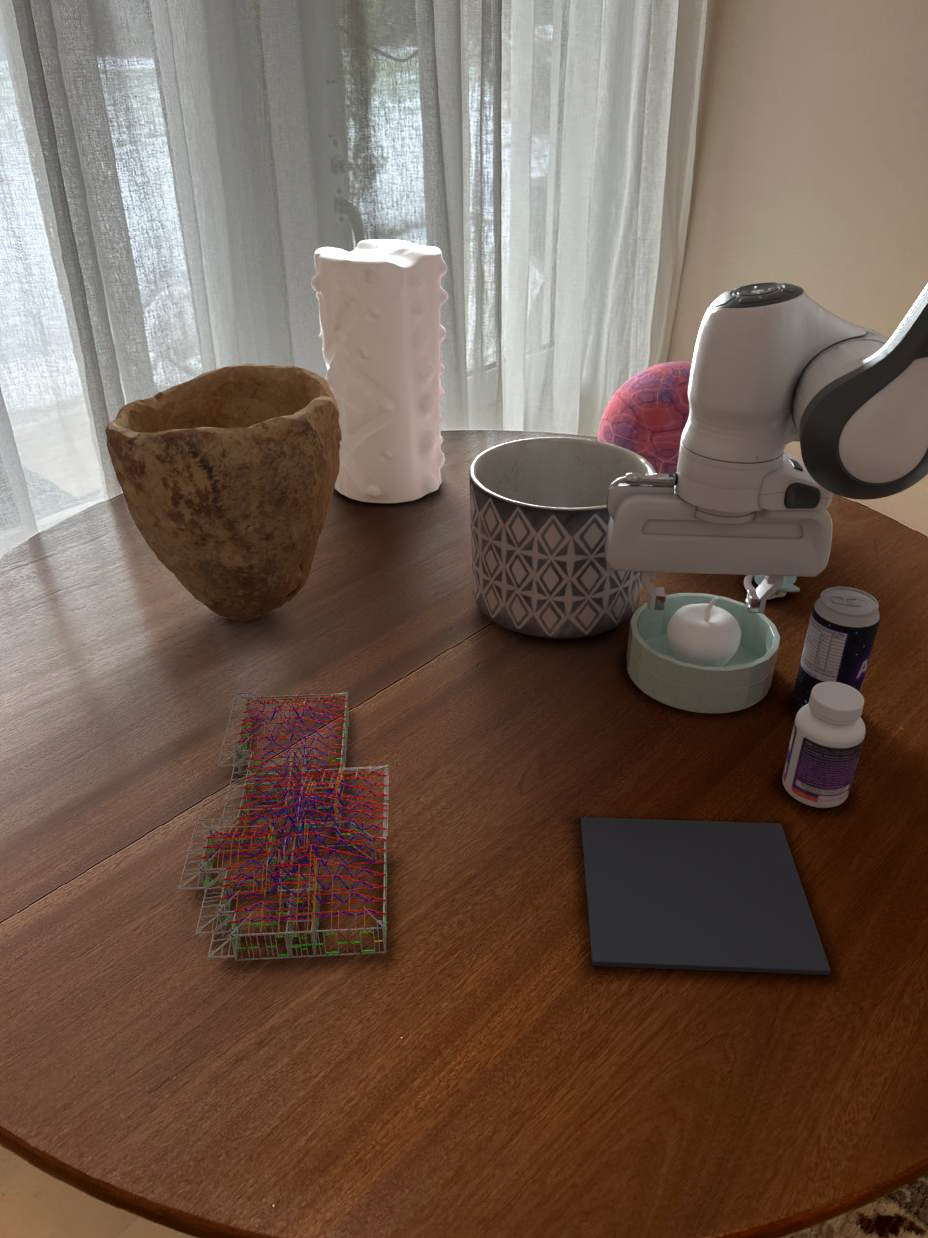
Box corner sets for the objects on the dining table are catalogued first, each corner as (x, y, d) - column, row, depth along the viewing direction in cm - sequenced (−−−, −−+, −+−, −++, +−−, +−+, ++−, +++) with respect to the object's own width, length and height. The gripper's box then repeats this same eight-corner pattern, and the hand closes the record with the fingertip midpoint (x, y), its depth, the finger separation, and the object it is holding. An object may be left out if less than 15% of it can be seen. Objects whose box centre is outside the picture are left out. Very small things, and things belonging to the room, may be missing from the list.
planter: (491, 664, 95) (493, 517, 86) (454, 574, 111) (452, 443, 102) (668, 642, 98) (687, 499, 89) (607, 558, 114) (618, 430, 105)
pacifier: (744, 603, 105) (799, 607, 104) (750, 554, 102) (808, 558, 101) (741, 573, 111) (794, 576, 110) (748, 525, 108) (802, 528, 107)
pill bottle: (861, 802, 77) (889, 709, 72) (805, 816, 76) (829, 721, 71) (822, 762, 81) (845, 670, 76) (768, 773, 80) (788, 682, 75)
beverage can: (853, 733, 85) (884, 621, 79) (789, 720, 87) (814, 609, 80) (854, 698, 89) (883, 590, 83) (792, 686, 91) (816, 579, 85)
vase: (307, 481, 135) (284, 247, 118) (394, 452, 144) (384, 232, 127) (380, 517, 124) (366, 267, 107) (468, 484, 134) (468, 249, 117)
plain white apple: (736, 690, 90) (749, 619, 85) (661, 681, 91) (671, 611, 87) (733, 650, 95) (745, 583, 91) (663, 643, 97) (671, 576, 92)
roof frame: (232, 712, 88) (224, 666, 85) (391, 705, 89) (389, 660, 86) (164, 983, 62) (150, 931, 60) (389, 971, 63) (385, 919, 60)
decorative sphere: (567, 521, 123) (576, 372, 112) (627, 471, 137) (640, 335, 127) (713, 558, 114) (738, 399, 103) (761, 500, 128) (787, 356, 118)
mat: (780, 827, 75) (781, 823, 74) (829, 975, 63) (831, 971, 62) (580, 821, 75) (581, 816, 75) (592, 966, 63) (592, 961, 63)
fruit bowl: (753, 634, 99) (761, 594, 97) (786, 715, 87) (796, 672, 84) (620, 631, 100) (624, 591, 97) (634, 711, 88) (639, 668, 85)
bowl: (203, 554, 115) (168, 353, 102) (375, 571, 112) (363, 364, 98) (108, 652, 97) (51, 421, 84) (312, 677, 93) (286, 439, 80)
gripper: (612, 486, 80) (598, 622, 87) (852, 493, 79) (818, 629, 87) (606, 459, 85) (594, 589, 93) (831, 464, 85) (801, 595, 92)
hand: (704, 608), depth 90 cm, fingers open, 8 cm apart
